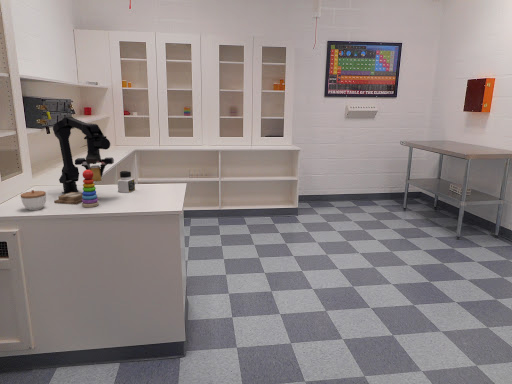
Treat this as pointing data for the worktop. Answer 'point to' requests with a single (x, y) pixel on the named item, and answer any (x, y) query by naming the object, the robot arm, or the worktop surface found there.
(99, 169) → the amber jar
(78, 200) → the walnut plinth
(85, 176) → the stacking toy
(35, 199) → the lidded jar
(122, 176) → the medicine bottle
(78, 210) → the worktop surface
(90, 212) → the worktop surface
